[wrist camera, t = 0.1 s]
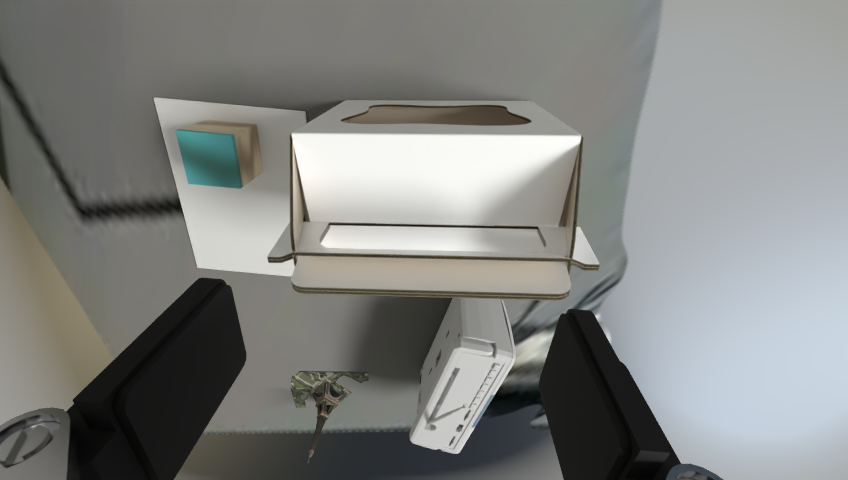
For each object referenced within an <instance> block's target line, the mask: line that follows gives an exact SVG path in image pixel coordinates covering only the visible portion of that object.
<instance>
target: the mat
mask: <svg viewBox="0 0 848 480" xmlns="http://www.w3.org/2000/svg"><path fill="white" fill-rule="evenodd" d="M154 102H155V106H156V110H157V113H158V117H159V121H160V125H161V129H162V133H163V137H164V140H165V144H166V148H167V152H168V156H169V160H170V164H171V167H172V171H173V175H174V179H175V183H176V187H177V190H178V194H179V198H180V202H181V206H182V210H183V214H184V217H185V221H186V225H187V229H188V233H189V237H190V241H191V244H192V248H193V252H194V256H195V260H196V264H197V267H198V268H207V269H217V270H228V271H238V272H249V273H260V274H270V275H281V276H291V277H292V274H293V272H294V269H295V266H294V261H293V259H291V260H288V261H286V262H283V263H268V259H267V256H268V254H269V253H270V251H271V250H272V248H273V247H274V245H275V244H276V242H277V241H278V239H279V238H280V236H281V235H282V233H283V232H284V230H285V228H286V227H287V225H288V224H289V222H290V139H289V135H290V134H291V133H292V132H293V131H295V130H297V129H298V128H300V127H302V126H303V125H305V124H307V121H306V111H298V110H287V109H276V108H265V107H255V106H244V105H233V104H223V103H212V102H201V101H190V100H180V99H169V98H158V97H154ZM205 120H215V121H226V122H237V123H248V124H257V130H258V137H259V145H260V152H261V159H262V167H263V173H262V174H260V175H259V176H257V177H256V178H255V179H253V180H252V181H250V182H249V183H248V184H246V185H245V186H244V187H242V188H241V189H237V188H227V187H216V186H205V185H195V184H188V181H187V177H186V173H185V169H184V165H183V160H182V156H181V152H180V148H179V144H178V140H177V136H176V132H175V130H178V129H181V128H184V127H187V126H190V125H193V124H196V123H199V122H202V121H205Z"/></svg>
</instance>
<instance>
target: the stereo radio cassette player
mask: <svg viewBox="0 0 848 480" xmlns="http://www.w3.org/2000/svg"><path fill="white" fill-rule="evenodd" d="M515 357H516V354H515V346H514V340H513V335H512V331H511V326H510V322H509V318H508V314H507V311H506V307H505V304H504V302H503V300H502V299H480V298H452V300H451V303H450V305H449V307H448V309H447V312H446V314H445V316H444V319H443V321H442V323H441V325H440V328H439V330H438V332H437V334H436V337H435V339H434V341H433V344H432V346H431V348H430V350H429V353H428V355H427V357H426V359H425V362H424V364H423V366H422V369H421V374H420V377H419V390H418V404H417V418H416V420H415V422H414V424H413V426H412V428H411V431H410V440H411V442H412V443H413V444H417V445H420V446H424V447H427V448H430V449H434V450H435V449H441V450H442V451H445V452H449V453H453V454H456V453H459V452H460V451H461V449H462V448H463V446H464V444H465V443H466V441H467V439H468V438H469V436H470V434H471V432H472V431H473V430H474V428H475V426H476V425H477V423H478V421H479V420H480V418H481V416H482V415H483V413H484V411H485V410H486V408H487V406H488V405H489V403H490V402H491V400H492V398H493V397H494V395H495V393H496V392H497V390H498V389H499V387H500V385H501V384H502V382H503V380H504V379H505V377H506V375H507V374H508V372H509V371H510V369H511V367H512V366H513V364H514V362H515Z"/></svg>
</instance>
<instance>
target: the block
mask: <svg viewBox="0 0 848 480" xmlns="http://www.w3.org/2000/svg"><path fill="white" fill-rule="evenodd" d="M175 132H176V136H177V140H178V144H179V148H180V152H181V156H182V160H183V165H184V169H185V173H186V177H187V181H188V184H195V185H205V186H216V187H227V188H237V189H241V188H242V187H244V186H245V185H246V184H248V183H249V182H250V181H252V180H253V179H255V178H256V177H257V176H259V175H260V174H262V173H263V167H262V159H261V152H260V145H259V137H258V130H257V124H248V123H237V122H226V121H215V120H205V121H202V122H199V123H196V124H193V125H190V126H187V127H184V128H181V129H178V130H175Z"/></svg>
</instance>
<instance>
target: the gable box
mask: <svg viewBox="0 0 848 480" xmlns="http://www.w3.org/2000/svg"><path fill="white" fill-rule="evenodd" d="M289 139H290V222H289V224H288V225H287V227H286V228H285V230H284V232H283V233H282V235H281V236H280V238H279V239H278V241H277V242H276V244H275V245H274V247H273V248H272V250H271V251H270V253H269V254H268V256H267V259H268V263H283V262H286V261H288V260H291V259H293V261H294V266H295V269H294V272H293V274H292V277H291V281H292V286H293V289H294V290H295V291H296V292H299V293H303V294H336V295H372V296H408V297H444V298H480V299H516V300H552V301H558V300H563V299H565V298H567V297H568V296H569V293H570V288H571V283H570V279H569V274H570V269H571V265H573V266H575V267H577V268H580V269H582V270H585V271H598V269H599V266H600V264H599V262H598V260H597V258H596V256H595V255H594V253H593V251H592V249H591V247H590V245H589V243H588V242H587V240H586V238H585V236H584V234H583V232H582V230H581V229H580V227H577V215H578V202H579V189H580V175H581V162H582V149H583V137H582V135H581V134H579V133H578V132H576V131H575V130H573V129H572V128H570V127H569V126H567V125H566V124H565V123H563V122H562V121H560V120H559V119H557V118H556V117H554V116H553V115H551V114H550V113H548V112H547V111H545V110H544V109H542V108H541V107H540V106H538V105H537V104H535V103H534V102H532V101H437V100H345V101H343V102H342V103H340V104H338V105H337V106H335V107H333V108H332V109H330V110H328V111H327V112H325V113H323V114H322V115H320V116H318V117H317V118H315V119H313V120H312V121H310V122H308V123H307V124H305V125H303V126H302V127H300V128H298V129H297V130H295V131H293V132H292V133H291V134H290V135H289ZM376 223H394V224H376ZM396 224H446V225H396ZM447 225H494V226H447Z"/></svg>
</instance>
